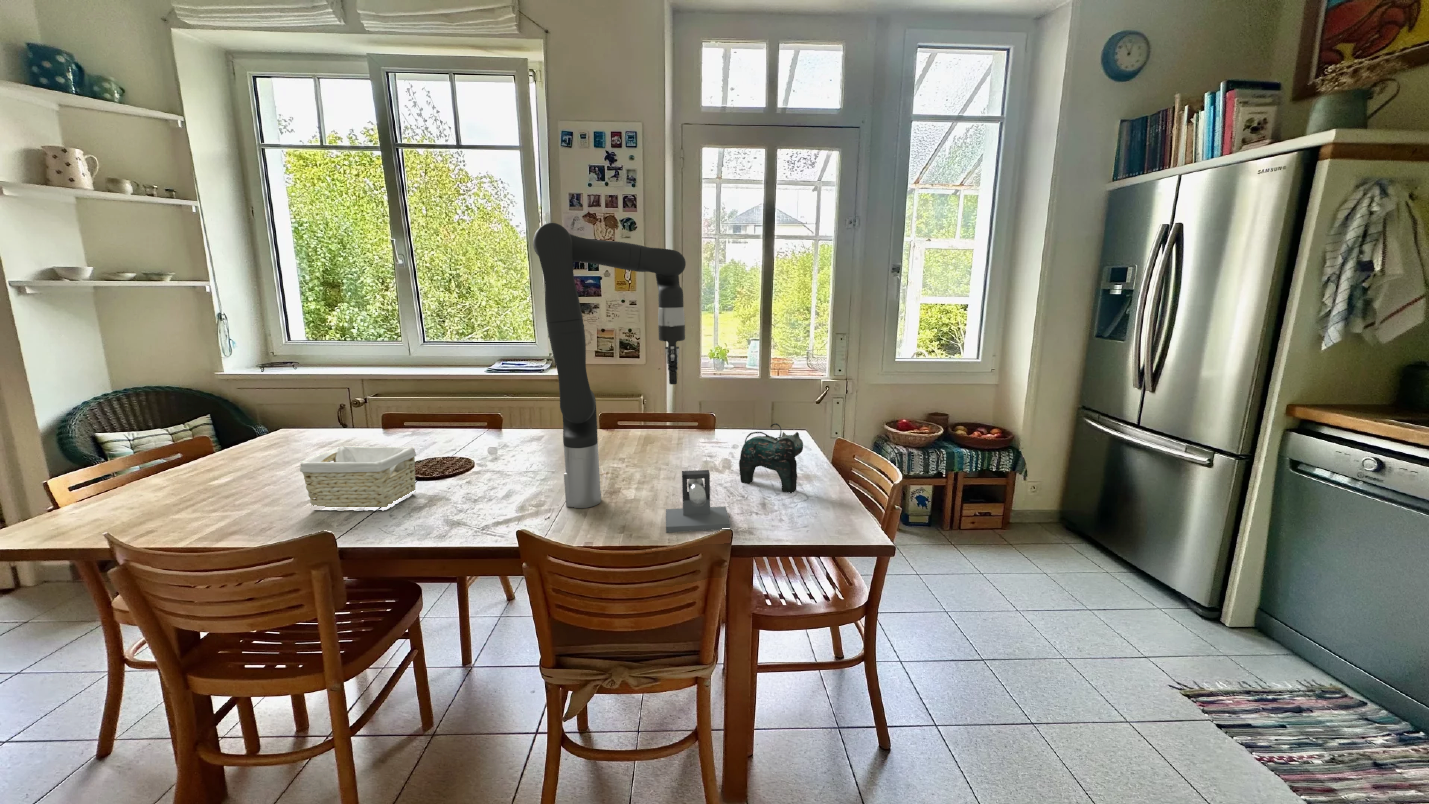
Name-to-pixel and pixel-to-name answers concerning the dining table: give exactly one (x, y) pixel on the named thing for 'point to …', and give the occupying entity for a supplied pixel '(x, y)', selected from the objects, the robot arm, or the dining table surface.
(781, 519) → the dining table surface
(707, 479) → the rubber collar
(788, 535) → the dining table surface
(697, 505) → the steel peg
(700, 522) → the base plate
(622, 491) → the dining table surface
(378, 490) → the storage basket
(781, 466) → the ceramic cat
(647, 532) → the dining table surface
